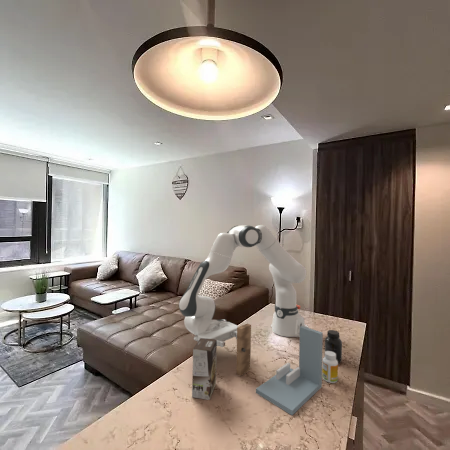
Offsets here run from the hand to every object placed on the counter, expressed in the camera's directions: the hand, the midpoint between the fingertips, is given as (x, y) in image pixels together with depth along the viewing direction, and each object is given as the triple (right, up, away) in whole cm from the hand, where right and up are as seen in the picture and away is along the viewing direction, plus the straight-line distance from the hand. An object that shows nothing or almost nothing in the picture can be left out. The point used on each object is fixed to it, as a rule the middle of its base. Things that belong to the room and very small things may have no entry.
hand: (232, 341), depth 103 cm
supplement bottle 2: (+37, -11, -8) cm, 39 cm away
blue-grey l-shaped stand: (+20, -10, -15) cm, 27 cm away
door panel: (+4, -10, -5) cm, 12 cm away
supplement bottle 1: (+44, -11, +6) cm, 46 cm away
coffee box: (-10, -10, -16) cm, 21 cm away
